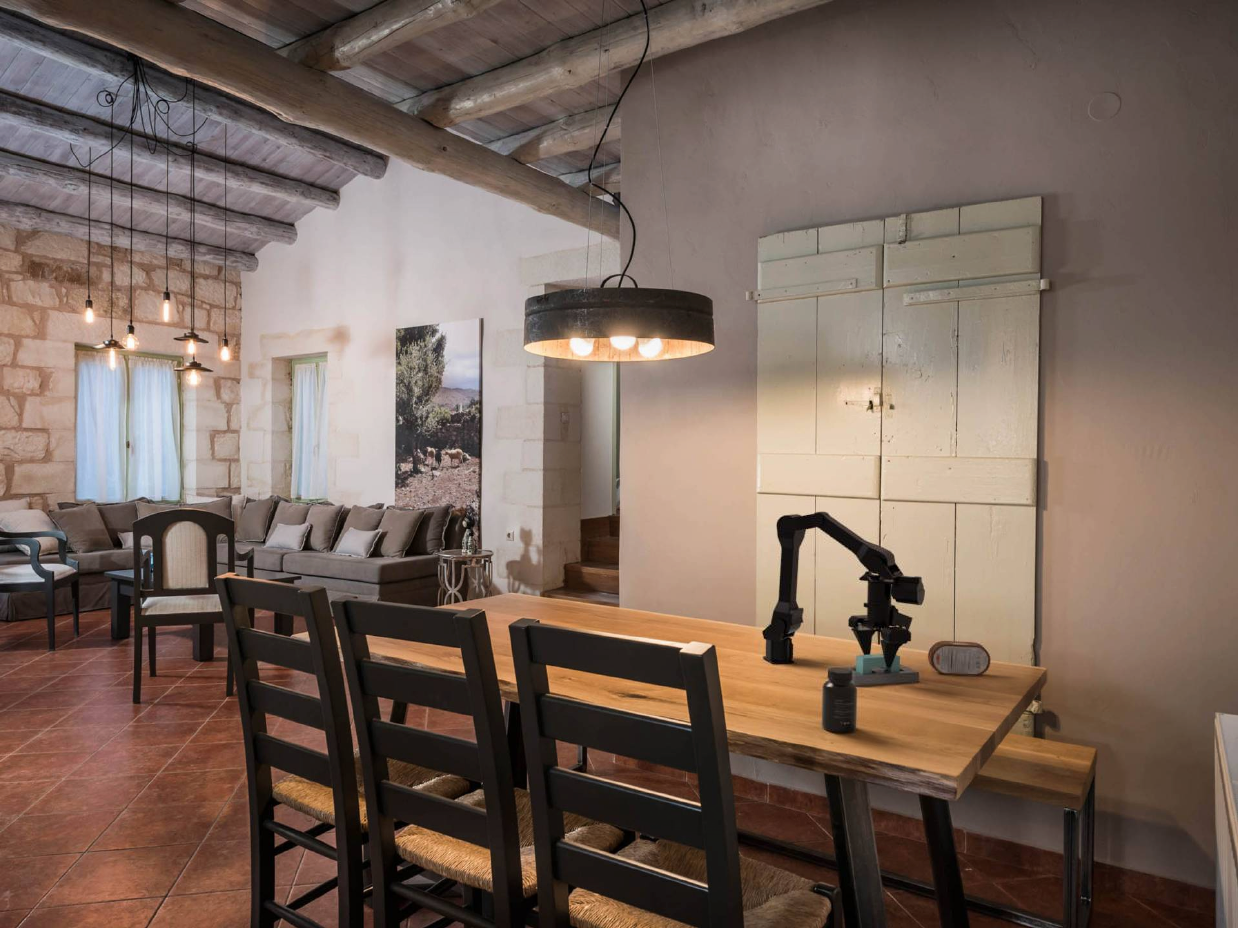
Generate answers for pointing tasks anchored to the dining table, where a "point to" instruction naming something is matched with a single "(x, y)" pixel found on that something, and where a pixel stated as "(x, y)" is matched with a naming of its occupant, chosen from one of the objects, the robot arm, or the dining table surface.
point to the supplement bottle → (839, 701)
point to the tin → (959, 658)
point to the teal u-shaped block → (875, 663)
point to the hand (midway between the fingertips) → (877, 662)
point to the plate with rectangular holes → (884, 676)
